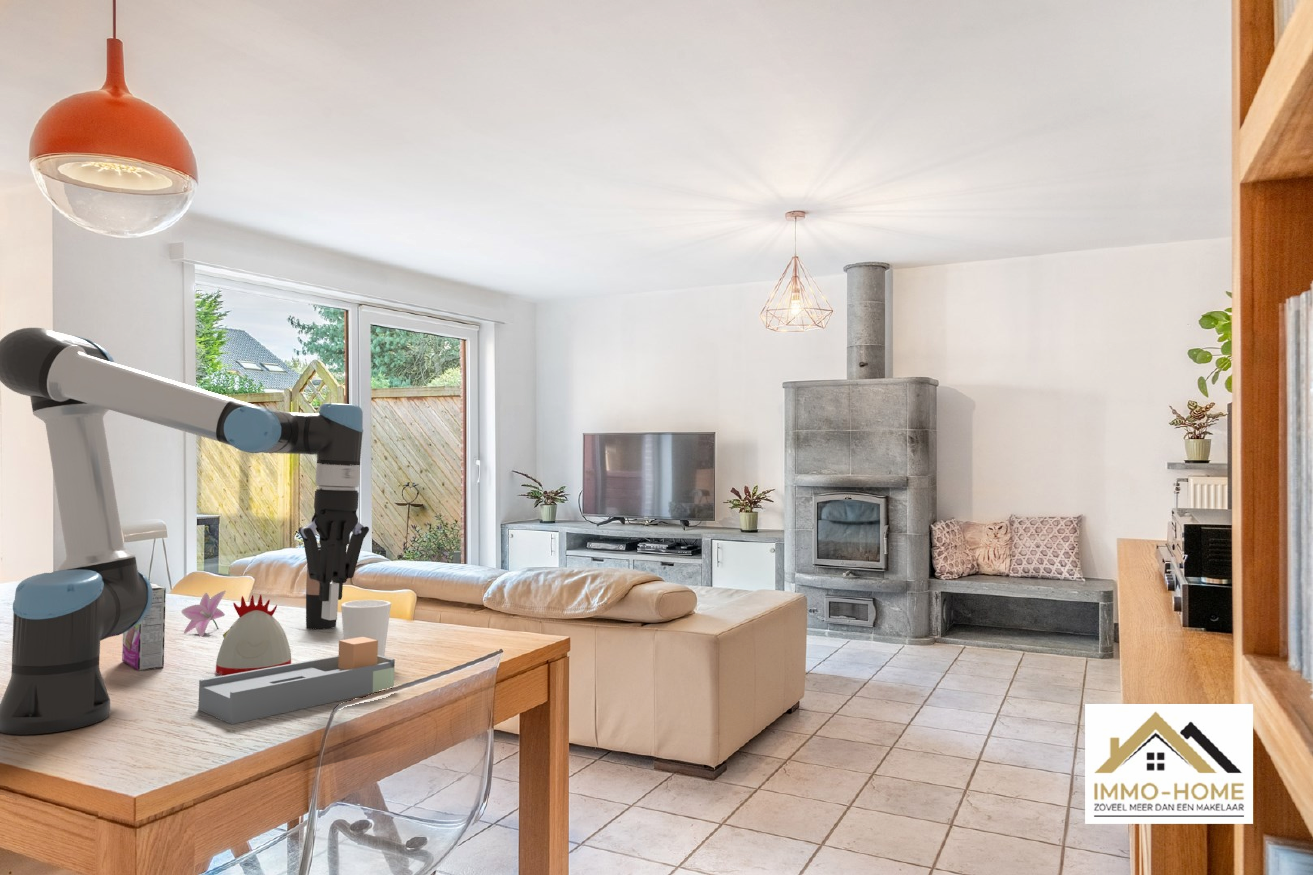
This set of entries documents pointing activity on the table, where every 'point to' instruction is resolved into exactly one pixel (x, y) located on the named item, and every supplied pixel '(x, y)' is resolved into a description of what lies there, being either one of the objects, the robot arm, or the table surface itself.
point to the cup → (366, 621)
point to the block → (357, 653)
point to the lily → (203, 613)
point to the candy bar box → (147, 636)
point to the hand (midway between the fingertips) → (329, 618)
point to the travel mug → (315, 606)
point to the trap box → (290, 688)
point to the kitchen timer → (253, 641)
